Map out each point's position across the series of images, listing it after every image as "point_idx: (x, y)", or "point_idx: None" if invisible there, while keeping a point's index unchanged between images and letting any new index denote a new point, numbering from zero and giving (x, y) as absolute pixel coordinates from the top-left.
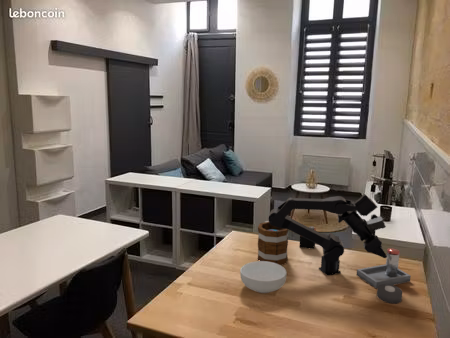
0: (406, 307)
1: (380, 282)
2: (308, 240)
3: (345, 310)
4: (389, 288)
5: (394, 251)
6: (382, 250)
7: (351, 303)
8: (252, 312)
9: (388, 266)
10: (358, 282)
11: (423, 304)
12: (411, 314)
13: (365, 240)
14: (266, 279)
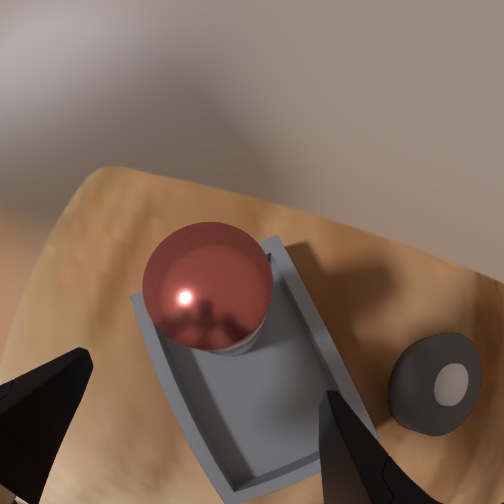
0: (471, 332)
1: (367, 417)
2: None
3: (474, 500)
4: (458, 387)
5: (234, 280)
6: (391, 464)
7: (451, 497)
8: None
9: (246, 347)
10: (307, 495)
11: (444, 267)
12: (494, 325)
13: (41, 491)
14: None
